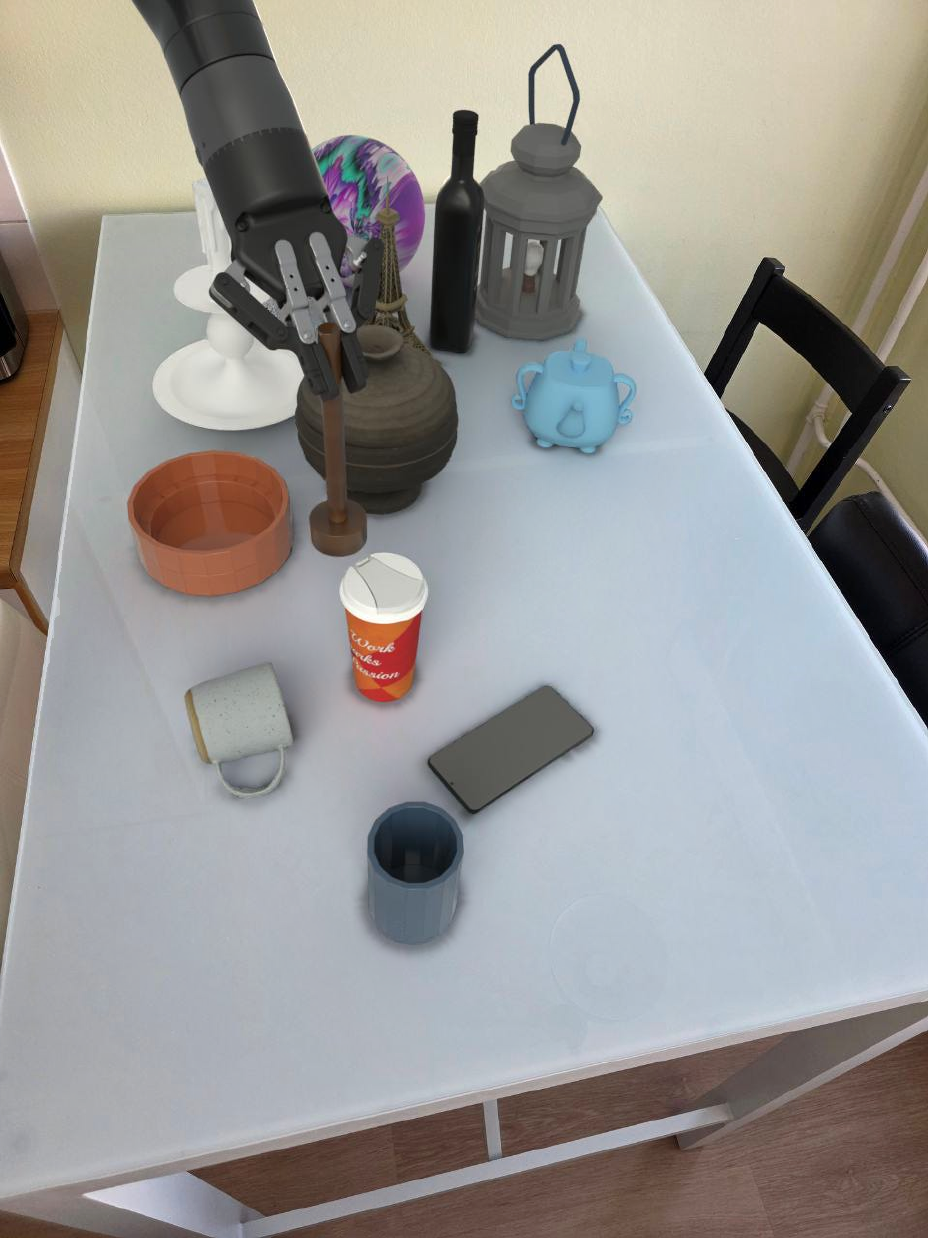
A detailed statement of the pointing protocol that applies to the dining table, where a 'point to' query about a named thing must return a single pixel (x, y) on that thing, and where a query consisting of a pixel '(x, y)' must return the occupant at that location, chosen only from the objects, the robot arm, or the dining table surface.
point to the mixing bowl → (211, 522)
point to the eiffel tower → (392, 285)
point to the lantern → (536, 227)
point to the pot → (387, 423)
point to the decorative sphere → (371, 193)
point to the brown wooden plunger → (336, 469)
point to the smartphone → (509, 749)
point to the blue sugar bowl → (573, 399)
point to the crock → (414, 871)
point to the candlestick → (223, 349)
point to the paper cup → (383, 623)
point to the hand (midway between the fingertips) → (345, 393)
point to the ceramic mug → (240, 721)
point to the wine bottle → (457, 243)
